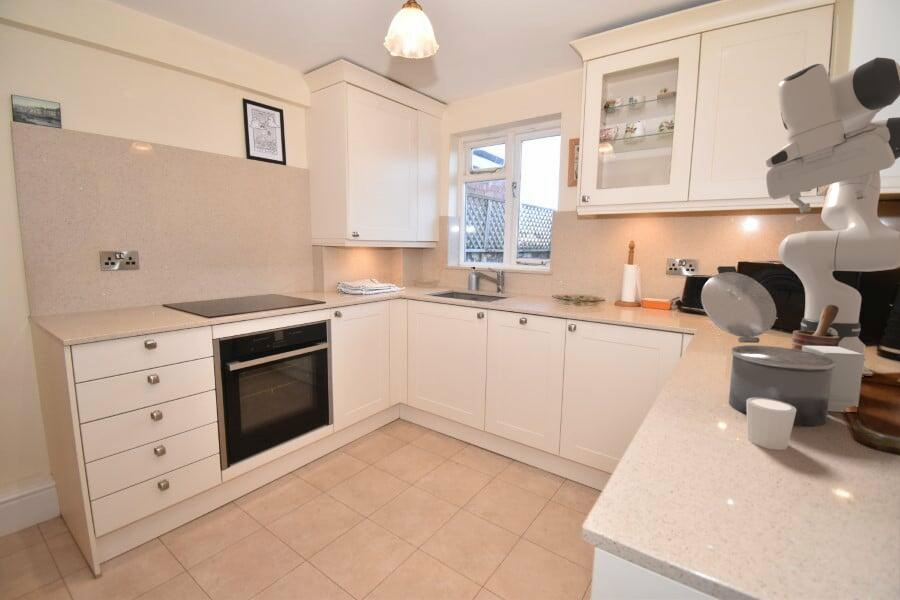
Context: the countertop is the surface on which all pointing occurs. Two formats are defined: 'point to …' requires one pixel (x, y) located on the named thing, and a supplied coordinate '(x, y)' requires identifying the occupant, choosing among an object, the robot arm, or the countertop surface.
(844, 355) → the supplement box
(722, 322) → the cooker lid
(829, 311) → the mortar and pestle
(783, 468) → the countertop surface
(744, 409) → the cooker pot
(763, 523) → the countertop surface
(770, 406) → the white tapered cup
